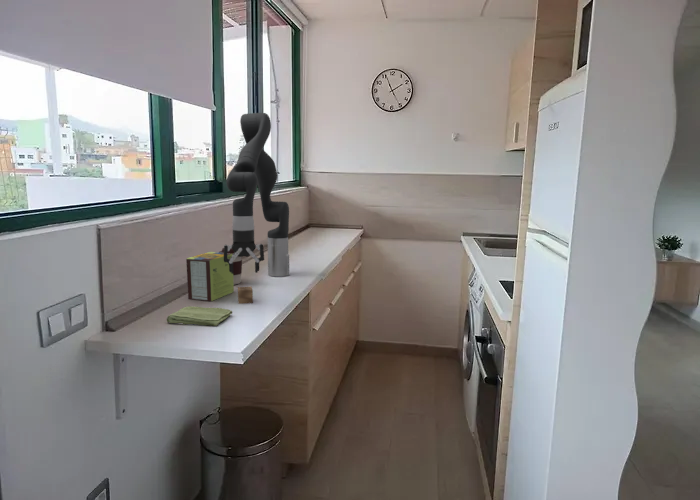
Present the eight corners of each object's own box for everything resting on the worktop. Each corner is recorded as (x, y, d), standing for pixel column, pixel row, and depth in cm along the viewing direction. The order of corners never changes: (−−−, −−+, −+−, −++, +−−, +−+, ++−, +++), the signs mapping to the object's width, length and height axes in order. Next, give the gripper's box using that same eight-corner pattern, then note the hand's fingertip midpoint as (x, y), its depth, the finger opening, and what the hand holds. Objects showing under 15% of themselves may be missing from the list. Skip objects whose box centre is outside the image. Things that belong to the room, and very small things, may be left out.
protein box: (234, 292, 196) (233, 253, 193) (211, 301, 181) (209, 260, 179) (211, 289, 199) (210, 251, 196) (187, 299, 185) (185, 258, 182)
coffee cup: (237, 286, 204) (236, 250, 201) (215, 285, 206) (214, 249, 203) (247, 281, 213) (246, 246, 211) (226, 279, 215) (224, 245, 213)
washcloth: (218, 328, 154) (218, 318, 153) (164, 325, 156) (164, 315, 155) (234, 316, 166) (233, 306, 166) (184, 313, 169) (183, 304, 168)
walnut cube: (251, 299, 185) (251, 286, 184) (252, 303, 180) (252, 289, 180) (238, 300, 184) (237, 287, 183) (238, 304, 179) (238, 290, 178)
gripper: (262, 226, 183) (263, 270, 186) (222, 227, 179) (223, 271, 182) (264, 229, 176) (265, 274, 178) (222, 230, 172) (224, 275, 175)
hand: (244, 272), depth 180 cm, fingers open, 8 cm apart
